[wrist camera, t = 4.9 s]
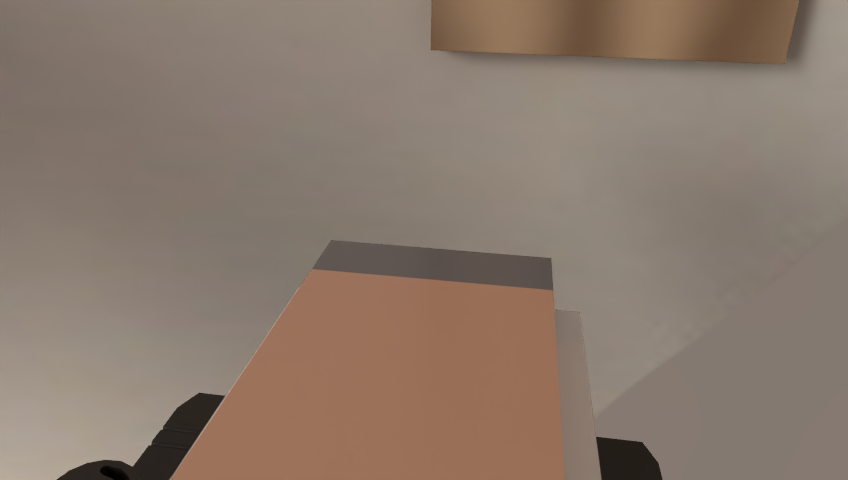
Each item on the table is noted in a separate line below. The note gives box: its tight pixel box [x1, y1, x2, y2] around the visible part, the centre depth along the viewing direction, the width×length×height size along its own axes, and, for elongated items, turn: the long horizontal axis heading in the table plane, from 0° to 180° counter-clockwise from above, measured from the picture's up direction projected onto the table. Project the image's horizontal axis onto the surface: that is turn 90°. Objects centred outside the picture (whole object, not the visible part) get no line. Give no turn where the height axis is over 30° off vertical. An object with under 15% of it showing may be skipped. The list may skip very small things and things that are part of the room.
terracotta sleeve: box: [172, 240, 565, 480], centre depth 13 cm, size 5×5×8 cm
